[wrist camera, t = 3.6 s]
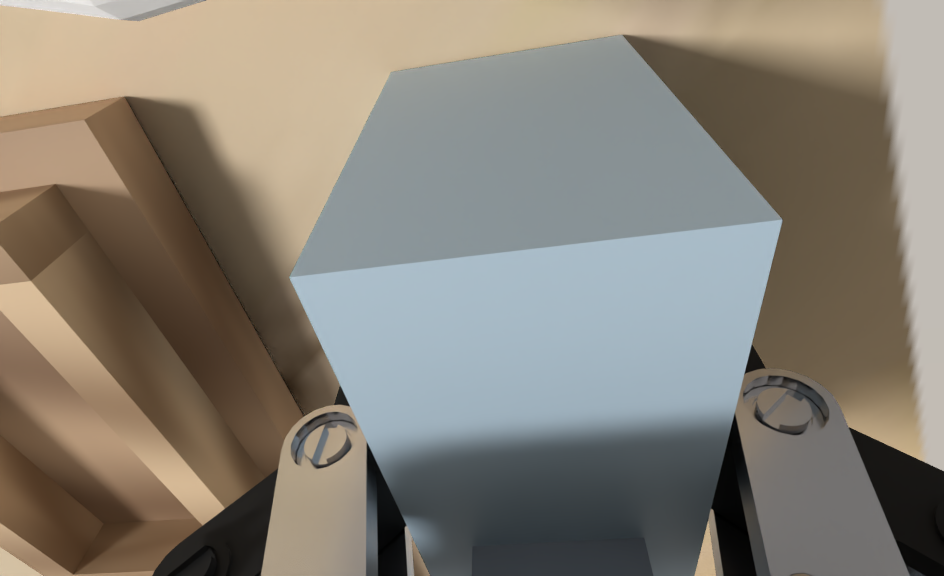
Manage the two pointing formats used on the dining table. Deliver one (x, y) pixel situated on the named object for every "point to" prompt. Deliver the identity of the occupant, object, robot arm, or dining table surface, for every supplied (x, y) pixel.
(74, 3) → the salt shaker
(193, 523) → the frame
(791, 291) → the dining table surface
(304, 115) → the dining table surface
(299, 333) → the dining table surface
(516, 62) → the light blue block
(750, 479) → the robot arm
